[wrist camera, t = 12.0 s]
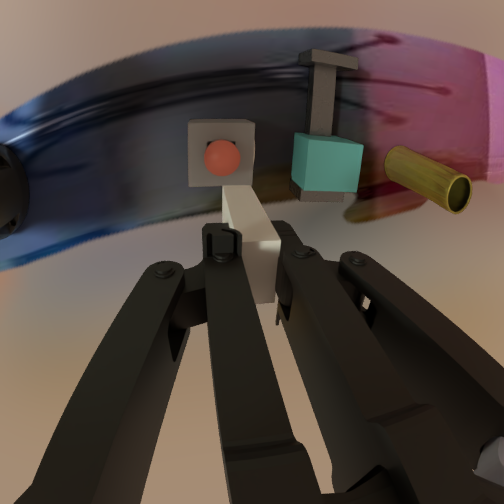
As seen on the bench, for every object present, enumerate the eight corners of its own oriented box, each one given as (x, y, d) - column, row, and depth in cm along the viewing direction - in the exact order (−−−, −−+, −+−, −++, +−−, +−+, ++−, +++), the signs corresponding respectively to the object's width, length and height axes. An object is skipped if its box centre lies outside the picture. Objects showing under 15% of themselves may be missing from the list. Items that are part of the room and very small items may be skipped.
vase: (393, 189, 44) (451, 226, 31) (377, 160, 41) (438, 191, 28) (418, 167, 42) (478, 198, 30) (403, 137, 39) (468, 161, 27)
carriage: (334, 176, 41) (356, 192, 35) (287, 174, 40) (303, 190, 34) (339, 136, 38) (363, 145, 32) (291, 132, 37) (308, 139, 31)
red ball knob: (203, 165, 34) (204, 176, 29) (203, 135, 32) (204, 141, 27) (234, 164, 34) (239, 176, 30) (235, 135, 32) (240, 141, 28)
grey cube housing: (190, 171, 38) (188, 187, 32) (190, 119, 34) (187, 123, 28) (245, 170, 39) (254, 185, 33) (248, 119, 35) (257, 123, 29)
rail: (328, 190, 42) (342, 202, 38) (289, 189, 41) (300, 201, 37) (340, 61, 33) (358, 58, 28) (299, 53, 32) (312, 48, 27)
